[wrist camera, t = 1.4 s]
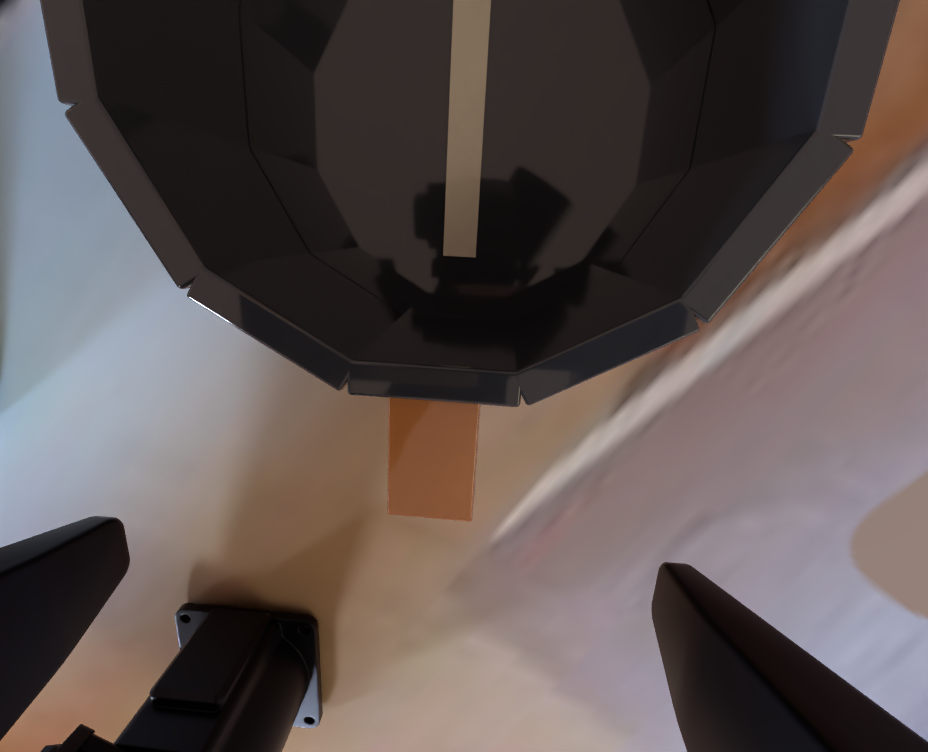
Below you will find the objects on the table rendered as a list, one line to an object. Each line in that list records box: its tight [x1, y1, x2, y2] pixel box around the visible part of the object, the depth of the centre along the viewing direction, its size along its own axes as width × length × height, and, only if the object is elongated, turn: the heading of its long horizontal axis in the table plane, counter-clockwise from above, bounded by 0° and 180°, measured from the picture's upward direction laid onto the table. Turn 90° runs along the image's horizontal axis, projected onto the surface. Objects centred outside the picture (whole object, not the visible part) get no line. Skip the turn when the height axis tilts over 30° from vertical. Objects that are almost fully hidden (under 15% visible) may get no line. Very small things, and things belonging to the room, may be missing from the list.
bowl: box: [40, 0, 900, 521], centre depth 11 cm, size 17×14×6 cm
